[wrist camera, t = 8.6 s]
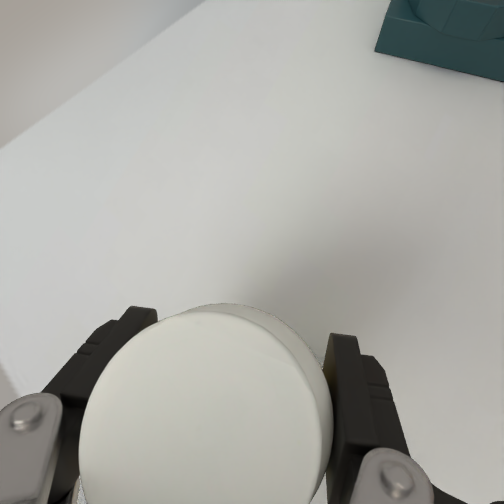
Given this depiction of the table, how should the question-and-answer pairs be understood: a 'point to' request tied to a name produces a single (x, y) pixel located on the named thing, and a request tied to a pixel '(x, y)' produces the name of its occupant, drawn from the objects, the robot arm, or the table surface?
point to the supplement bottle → (208, 414)
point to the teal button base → (447, 34)
